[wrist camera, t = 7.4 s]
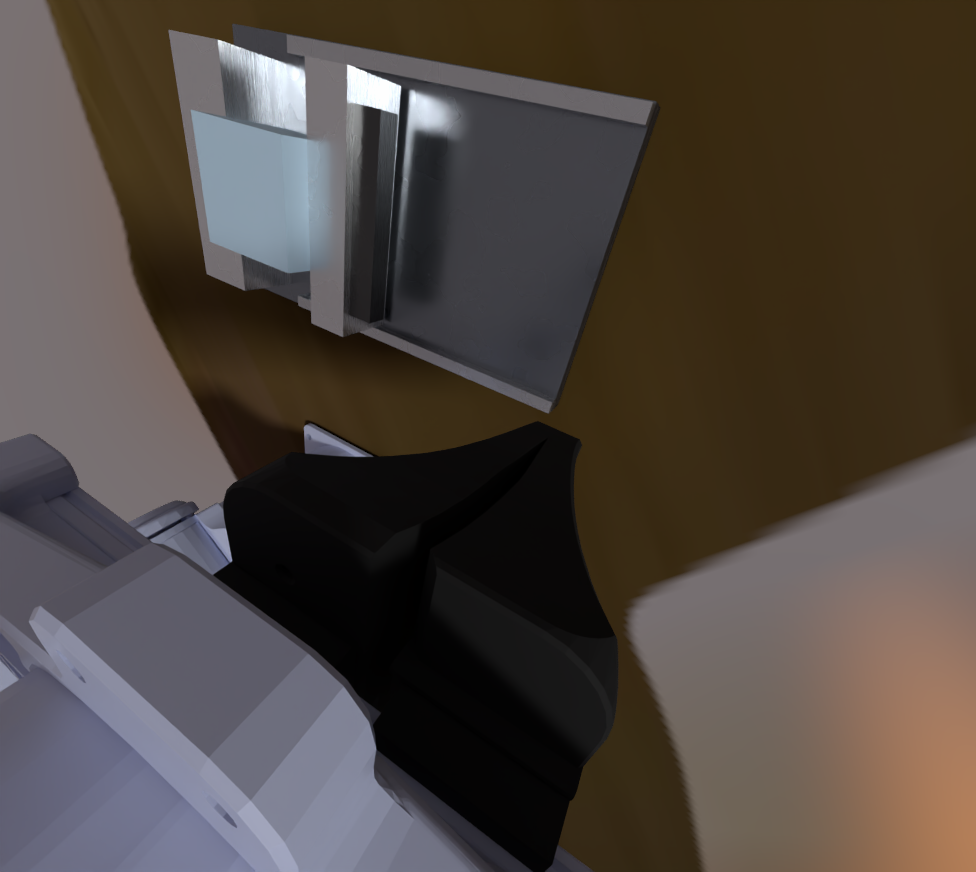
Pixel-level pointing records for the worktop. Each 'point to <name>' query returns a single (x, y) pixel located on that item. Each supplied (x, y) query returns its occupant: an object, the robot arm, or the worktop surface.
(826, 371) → the worktop surface
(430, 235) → the vise
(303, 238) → the steel block
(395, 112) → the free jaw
